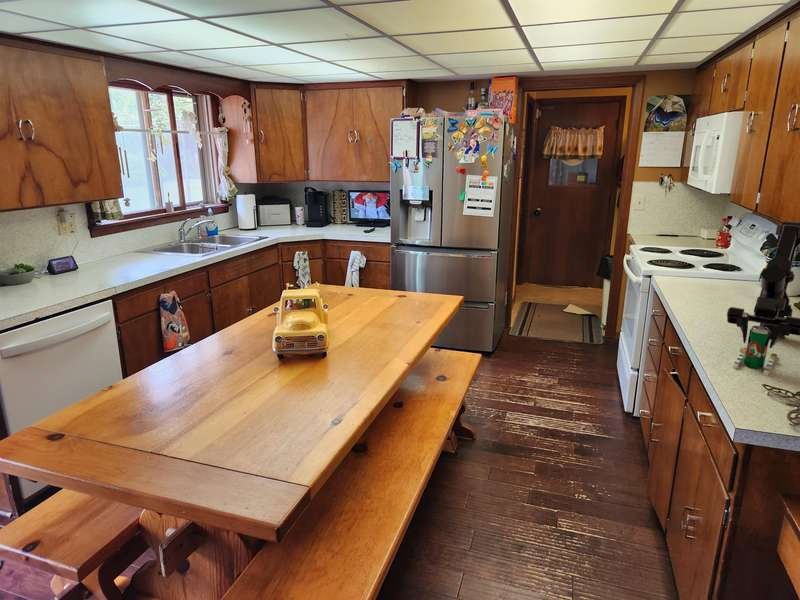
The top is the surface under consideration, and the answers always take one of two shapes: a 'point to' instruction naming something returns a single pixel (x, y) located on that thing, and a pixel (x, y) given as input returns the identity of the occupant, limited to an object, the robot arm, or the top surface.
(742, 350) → the tabs
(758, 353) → the soda can
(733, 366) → the fader track
